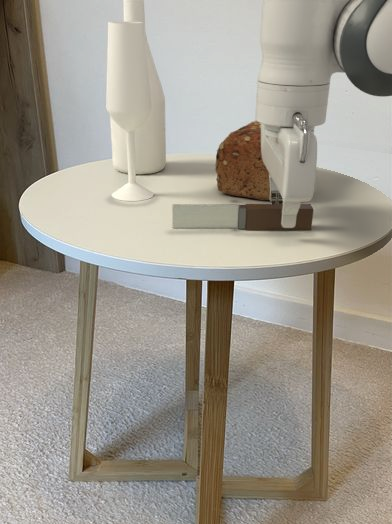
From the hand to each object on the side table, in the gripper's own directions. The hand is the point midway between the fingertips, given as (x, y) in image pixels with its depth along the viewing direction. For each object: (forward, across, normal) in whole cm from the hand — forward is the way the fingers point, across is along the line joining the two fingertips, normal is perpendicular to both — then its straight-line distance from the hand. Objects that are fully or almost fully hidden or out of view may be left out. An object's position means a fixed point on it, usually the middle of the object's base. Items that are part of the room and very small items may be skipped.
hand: (281, 214), depth 82 cm
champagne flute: (+2, +15, +21) cm, 26 cm away
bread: (+2, +21, 0) cm, 21 cm away
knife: (+2, 0, +6) cm, 6 cm away
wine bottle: (+2, +31, +21) cm, 37 cm away
